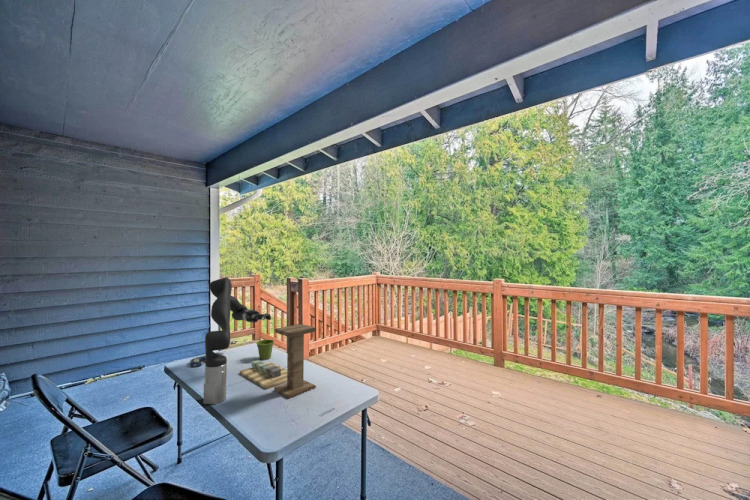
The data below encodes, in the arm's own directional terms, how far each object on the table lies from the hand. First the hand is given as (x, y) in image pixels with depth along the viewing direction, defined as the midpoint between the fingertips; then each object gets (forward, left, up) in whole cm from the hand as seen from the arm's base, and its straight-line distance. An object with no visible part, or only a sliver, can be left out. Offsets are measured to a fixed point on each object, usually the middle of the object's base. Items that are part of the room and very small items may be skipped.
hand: (263, 319), depth 181 cm
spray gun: (+13, +45, -33) cm, 57 cm away
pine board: (-4, -6, -32) cm, 33 cm away
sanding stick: (-2, -2, -30) cm, 31 cm away
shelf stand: (-20, -28, -32) cm, 47 cm away
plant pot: (+24, +11, -32) cm, 42 cm away
